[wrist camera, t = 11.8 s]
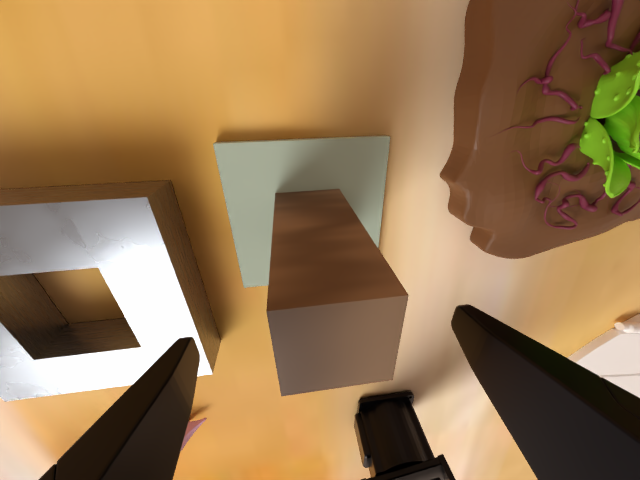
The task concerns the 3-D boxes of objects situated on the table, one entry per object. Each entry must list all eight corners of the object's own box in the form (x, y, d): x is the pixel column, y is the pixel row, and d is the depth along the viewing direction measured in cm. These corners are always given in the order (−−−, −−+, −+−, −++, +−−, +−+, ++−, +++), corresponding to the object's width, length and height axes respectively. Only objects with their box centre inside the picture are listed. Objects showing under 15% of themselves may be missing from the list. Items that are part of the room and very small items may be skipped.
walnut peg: (339, 188, 16) (408, 295, 7) (338, 243, 18) (392, 379, 9) (275, 193, 15) (266, 311, 7) (281, 248, 17) (281, 396, 9)
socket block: (170, 180, 15) (147, 197, 12) (220, 341, 22) (212, 374, 19) (-107, 195, 13) (-201, 217, 11) (40, 362, 20) (4, 401, 18)
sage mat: (386, 135, 15) (390, 136, 15) (373, 270, 20) (375, 274, 20) (215, 142, 14) (213, 143, 14) (245, 282, 19) (244, 287, 19)
